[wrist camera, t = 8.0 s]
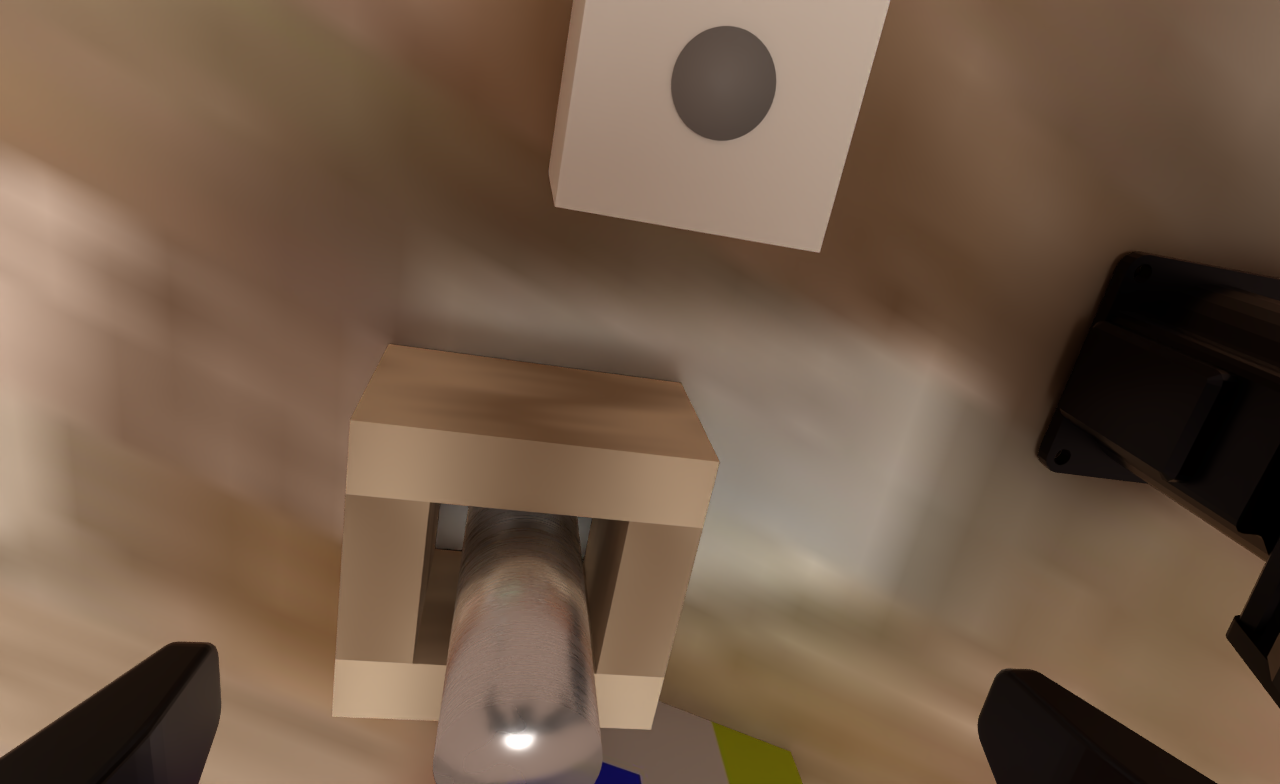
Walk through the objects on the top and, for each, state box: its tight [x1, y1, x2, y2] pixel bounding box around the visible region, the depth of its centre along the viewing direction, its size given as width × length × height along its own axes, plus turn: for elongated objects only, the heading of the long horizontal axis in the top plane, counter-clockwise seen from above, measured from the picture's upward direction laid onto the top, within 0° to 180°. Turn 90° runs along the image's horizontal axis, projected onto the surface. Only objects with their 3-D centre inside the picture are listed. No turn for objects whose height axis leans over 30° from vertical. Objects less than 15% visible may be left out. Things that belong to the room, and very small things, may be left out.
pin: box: [433, 506, 603, 784], centre depth 17 cm, size 3×3×9 cm
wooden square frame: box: [332, 344, 720, 730], centre depth 19 cm, size 8×8×4 cm
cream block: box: [548, 0, 890, 253], centre depth 15 cm, size 5×5×5 cm
